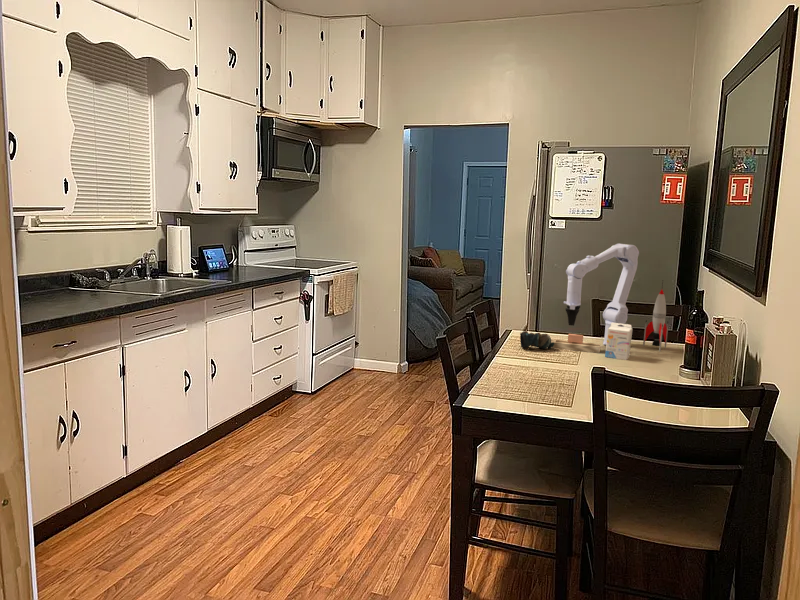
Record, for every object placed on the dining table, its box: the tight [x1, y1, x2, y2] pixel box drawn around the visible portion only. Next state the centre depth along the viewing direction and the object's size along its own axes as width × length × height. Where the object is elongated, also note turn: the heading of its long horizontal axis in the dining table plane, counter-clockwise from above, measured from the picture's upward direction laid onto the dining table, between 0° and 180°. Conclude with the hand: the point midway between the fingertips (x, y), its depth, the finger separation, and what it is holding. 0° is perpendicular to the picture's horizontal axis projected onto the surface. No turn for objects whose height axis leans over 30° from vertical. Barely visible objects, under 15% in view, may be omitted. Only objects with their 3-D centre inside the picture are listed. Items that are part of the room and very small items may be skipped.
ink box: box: [604, 322, 633, 361], centre depth 246 cm, size 9×8×13 cm
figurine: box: [517, 330, 555, 351], centre depth 255 cm, size 9×8×15 cm
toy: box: [642, 281, 669, 352], centre depth 260 cm, size 10×9×30 cm
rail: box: [551, 338, 601, 354], centre depth 258 cm, size 20×7×2 cm, turn 71°
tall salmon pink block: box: [567, 333, 584, 344], centre depth 257 cm, size 6×2×6 cm, turn 71°
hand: (571, 323), depth 261 cm, fingers open, 7 cm apart
